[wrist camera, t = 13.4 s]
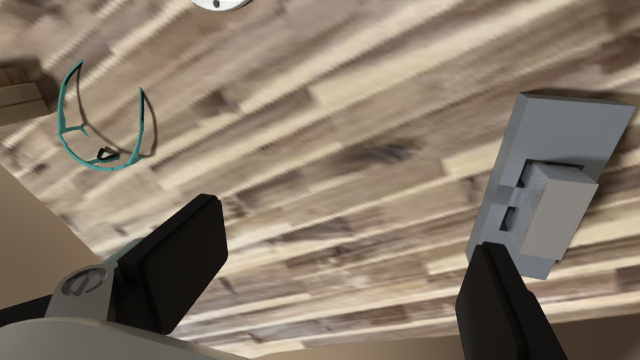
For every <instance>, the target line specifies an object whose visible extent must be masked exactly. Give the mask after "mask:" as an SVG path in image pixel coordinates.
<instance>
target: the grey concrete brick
mask: <svg viewBox="0 0 640 360" xmlns="http://www.w3.org/2000/svg"><path fill="white" fill-rule="evenodd" d="M519 177H520V179H521V180H522V181H523V182H524V183H525V186H524V188H523V191H522V193H521V196H520V199H519V201H518V204H517V207H511V206H508V208H507V210H506V213H505V215H504V218H503V220H504V222H505V224H506V225H507V227H508V231H507V233H508V235H509V237H510V239H511V240H512V242H513V244H514V246H515V248H516V250H517V252H518V253H519V254H524V255H530V256H536V257H543V258H549V259H555V260H561V259H562V257H563V255H564V253H565V251H566V249H567V247H568V245H569V243H570V241H571V239H572V237H573V235H574V233H575V231H576V229H577V227H578V225H579V223H580V221H581V219H582V217H583V215H584V213H585V211H586V209H587V207H588V205H589V203H590V201H591V200H592V198H593V196H594V194H595V192H596V190H597V188H598V186H599V184H597V183H596V182H595V181H593V180H592V179H591V178H589V177H588V176H587V175H585V174H584V173H583V172H581V171H580V170H579V169H578V168H576V167H567V166H566V165H565V164H564V163H561V162H552V161H543V160H534V159H526V161H525V163H524V166H523V169H522V171H521V174H520V176H519Z"/></svg>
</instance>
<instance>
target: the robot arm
mask: <svg viewBox="0 0 640 360" xmlns="http://www.w3.org/2000/svg"><path fill="white" fill-rule="evenodd" d="M190 1H192V2H193V3H194V4H196V5H197V6H200V7H202V8H204V9H206V10H211V11H215V12H228V11H233V10H236V9H238V8H240V7H242V6H243V5H245V4H246V3H247V2H249V1H250V0H190ZM219 3H220V6H219ZM227 258H228V248H227V241H226V233H225V226H224V218H223V211H222V204H221V201H220V200H218V198H217V196H215V195H209V194H200V195H198V196H197V197H196V198H194V199H193V200H192V201H191V202H189V203H188V204H187V205H186V206H184V207H183V208H182V209H181V210H179V211H178V212H177V213H175V214H174V215H173V216H172V217H170V218H169V219H168V220H167V221H165V222H164V223H163V224H162V225H160V226H159V227H158V228H157V229H155V230H154V231H153V232H152V233H150V234H149V235H148V236H147V237H145V238H144V239H143V240H142V241H140V242H139V243H138V244H137V245H135V246H134V247H133V248H132V249H130V250H129V251H128V252H126V253H125V254H124V255H123V256H121V257H120V258H119V259H118V260H116V261H117V264H118V266H117V267H116V268H115V269H112V267H111V266H108V265H105V264H96V265H91V266H87V267H84V268H81V269H78V270H76V271H74V272H72V273H71V274H69V275H68V276H66V277H65V278H64V279H62V280H61V282H59V283H58V285H57V286H56V288H55V290H54V293H53V294H51V295H47V296H45V297H41V298H38V299H34V300H31V301H28V302H24V303H21V304H18V305H14V306H11V307H8V308H4V309H1V310H0V360H252V359H248V358H245V357H241V356H238V355H234V354H231V353H227V352H223V351H220V350H216V349H212V348H209V347H205V346H202V345H198V344H194V343H191V342H187V341H183V340H180V339H176V338H173V337H169V336H165V335H168V334H170V333H171V332H172V331H173V330H174V329H175V327H176V326H177V325H178V324H179V322H180V321H181V320H182V318H183V317H184V316H185V314H186V313H187V312H188V311H189V309H190V308H191V307H192V305H193V304H194V303H195V301H196V300H197V299H198V298H199V296H200V295H201V294H202V292H203V291H204V290H205V288H206V287H207V286H208V284H209V283H210V282H211V281H212V279H213V278H214V277H215V275H216V274H217V273H218V271H219V270H220V269H221V268H222V266H223V265H224V264H225V262H226V260H227ZM455 311H456V317H457V322H458V327H459V332H460V336H461V342H462V347H463V351H464V357H465V360H568V359H567V357H566V355H565V353H564V351H563V349H562V347H561V345H560V343H559V341H558V339H557V338H556V336H555V334H554V332H553V330H552V328H551V326H550V324H549V322H548V320H547V318H546V316H545V314H544V312H543V310H542V308H541V306H540V304H539V303H538V301H537V299H536V297H535V295H534V294H533V293H532V292H531V291H529V290H527V288H526V286H525V284H524V282H523V280H522V278H521V276H520V274H519V272H518V270H517V268H516V266H515V264H514V262H513V260H512V258H511V256H510V254H509V252H508V250H507V248H506V246H505V245H504V244H500V243H494V242H488V241H484V242H483V243H482V245H480V244H477V245H476V246H475V249H474V252H473V255H472V257H471V260H470V263H469V266H468V269H467V272H466V274H465V277H464V280H463V283H462V286H461V289H460V291H459V294H458V297H457V300H456V305H455Z"/></svg>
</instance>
